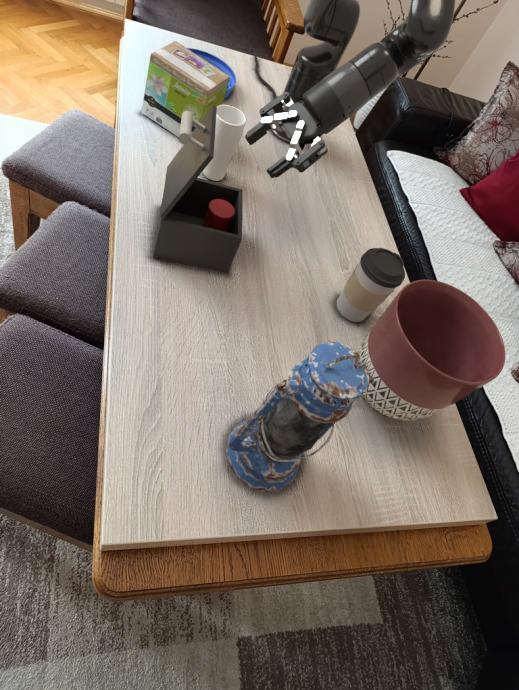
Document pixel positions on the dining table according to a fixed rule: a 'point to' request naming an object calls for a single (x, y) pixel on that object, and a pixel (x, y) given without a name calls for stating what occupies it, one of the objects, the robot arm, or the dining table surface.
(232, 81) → the bowl
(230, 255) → the dark box
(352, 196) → the dining table surface
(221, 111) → the white vase
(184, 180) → the box lid
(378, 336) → the planter
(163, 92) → the tea box
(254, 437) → the lantern
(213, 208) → the red cup
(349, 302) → the coffee cup
